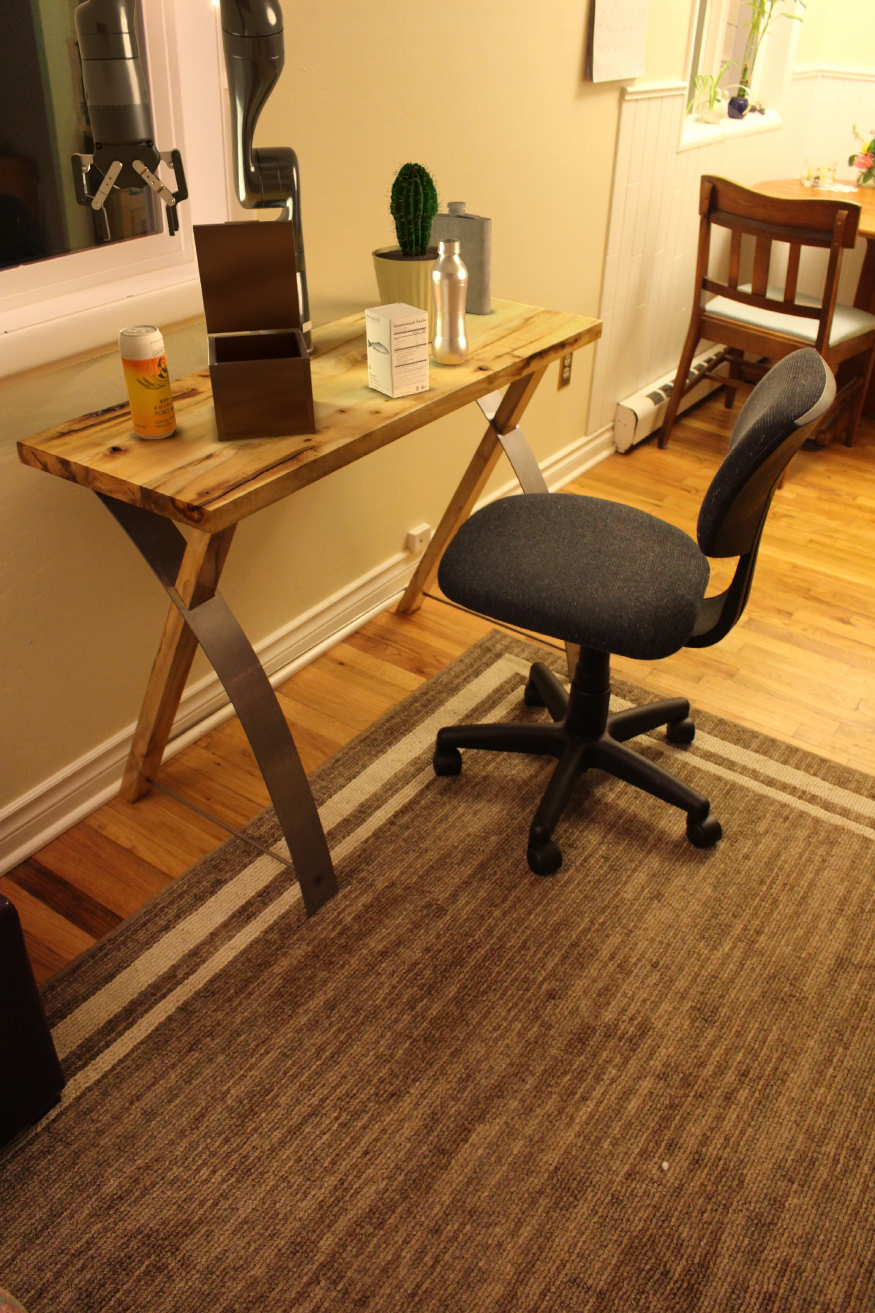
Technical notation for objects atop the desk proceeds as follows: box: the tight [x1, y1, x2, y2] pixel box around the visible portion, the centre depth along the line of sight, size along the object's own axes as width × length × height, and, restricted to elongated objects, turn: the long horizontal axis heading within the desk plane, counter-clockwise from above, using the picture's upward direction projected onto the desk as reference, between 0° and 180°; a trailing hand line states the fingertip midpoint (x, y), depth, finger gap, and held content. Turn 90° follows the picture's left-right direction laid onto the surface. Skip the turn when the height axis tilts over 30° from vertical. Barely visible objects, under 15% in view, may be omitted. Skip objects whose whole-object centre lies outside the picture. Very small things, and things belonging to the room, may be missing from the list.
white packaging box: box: [364, 303, 430, 399], centre depth 163 cm, size 7×7×13 cm
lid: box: [191, 219, 301, 335], centre depth 151 cm, size 16×14×6 cm
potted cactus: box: [371, 160, 444, 343], centre depth 184 cm, size 15×15×30 cm
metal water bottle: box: [430, 238, 470, 365], centre depth 172 cm, size 6×7×20 cm
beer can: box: [117, 324, 177, 440], centre depth 147 cm, size 6×6×15 cm
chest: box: [207, 330, 317, 442], centre depth 152 cm, size 15×14×11 cm
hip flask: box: [429, 201, 493, 316], centre depth 203 cm, size 16×4×20 cm, turn 58°
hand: (139, 237), depth 137 cm, fingers open, 8 cm apart
